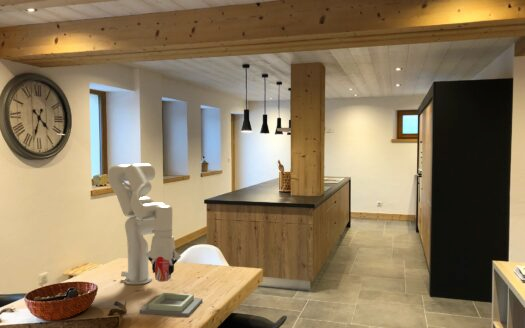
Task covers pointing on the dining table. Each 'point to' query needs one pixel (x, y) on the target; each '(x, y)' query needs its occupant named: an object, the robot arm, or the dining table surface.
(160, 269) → the soda can
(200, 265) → the dining table surface
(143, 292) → the dining table surface
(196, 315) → the dining table surface
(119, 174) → the robot arm
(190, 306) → the holder board
